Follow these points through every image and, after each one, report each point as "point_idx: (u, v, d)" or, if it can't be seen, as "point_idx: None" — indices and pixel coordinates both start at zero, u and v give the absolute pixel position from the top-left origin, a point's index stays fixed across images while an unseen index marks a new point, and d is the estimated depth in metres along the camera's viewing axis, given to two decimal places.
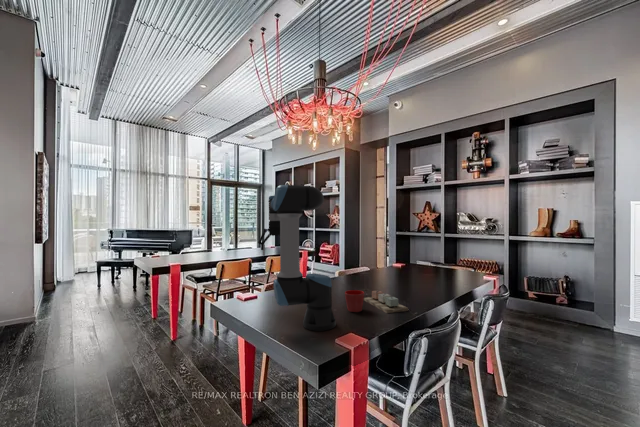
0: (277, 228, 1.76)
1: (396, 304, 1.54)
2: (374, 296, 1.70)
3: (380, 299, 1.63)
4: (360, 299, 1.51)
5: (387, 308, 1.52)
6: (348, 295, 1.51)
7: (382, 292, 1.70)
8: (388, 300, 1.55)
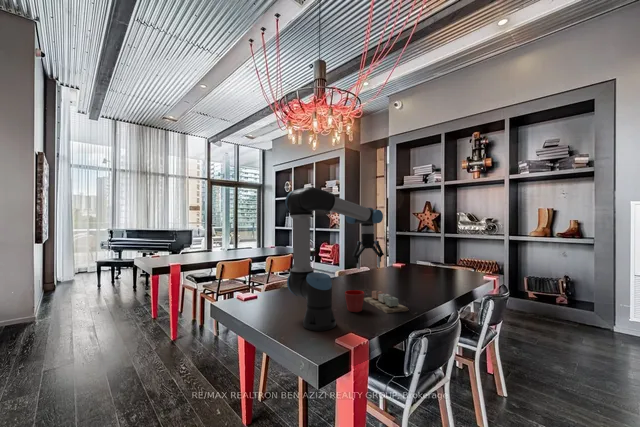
0: (370, 241, 1.72)
1: (396, 304, 1.54)
2: (374, 296, 1.70)
3: (380, 299, 1.63)
4: (360, 299, 1.51)
5: (387, 308, 1.52)
6: (348, 295, 1.51)
7: (382, 292, 1.70)
8: (388, 300, 1.55)
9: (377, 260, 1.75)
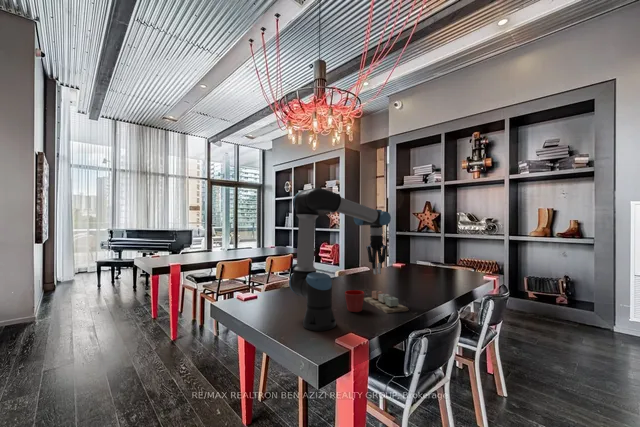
0: None
1: (396, 304, 1.54)
2: (374, 296, 1.70)
3: (380, 299, 1.63)
4: (360, 299, 1.51)
5: (387, 308, 1.52)
6: (348, 295, 1.51)
7: (382, 292, 1.70)
8: (388, 300, 1.55)
9: (378, 266, 1.73)
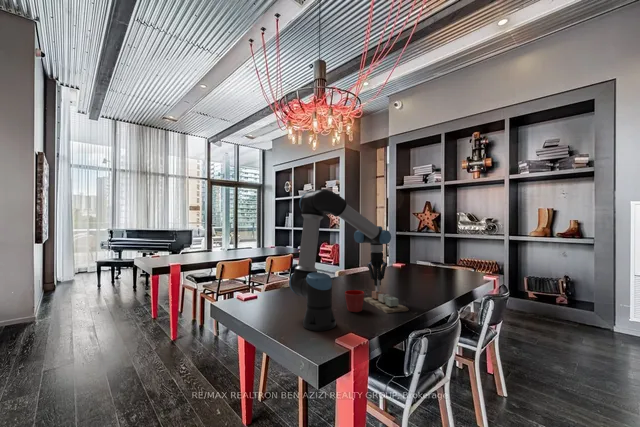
0: None
1: (396, 304, 1.54)
2: (374, 296, 1.70)
3: (380, 299, 1.63)
4: (360, 299, 1.51)
5: (387, 308, 1.52)
6: (348, 295, 1.51)
7: (382, 292, 1.70)
8: (388, 300, 1.55)
9: None
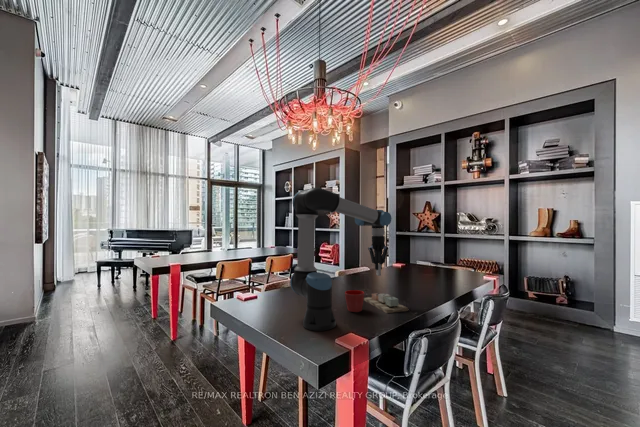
0: (382, 242, 1.70)
1: (396, 304, 1.54)
2: (374, 299, 1.70)
3: (380, 299, 1.63)
4: (360, 299, 1.51)
5: (387, 308, 1.52)
6: (348, 295, 1.51)
7: None
8: (388, 300, 1.55)
9: None
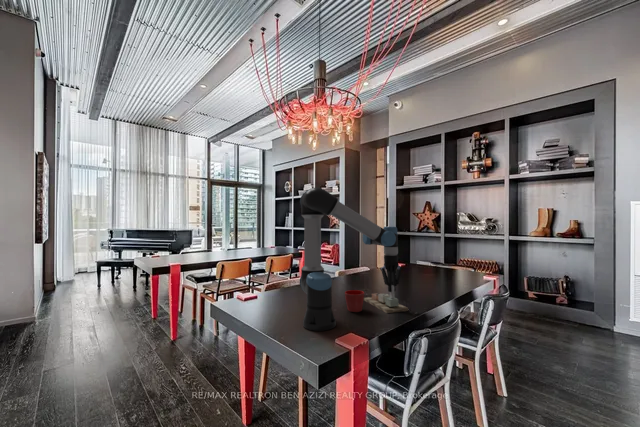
0: (396, 261, 1.57)
1: (396, 304, 1.54)
2: (374, 299, 1.70)
3: (380, 299, 1.63)
4: (360, 299, 1.51)
5: (387, 308, 1.52)
6: (348, 295, 1.51)
7: None
8: (388, 300, 1.55)
9: None
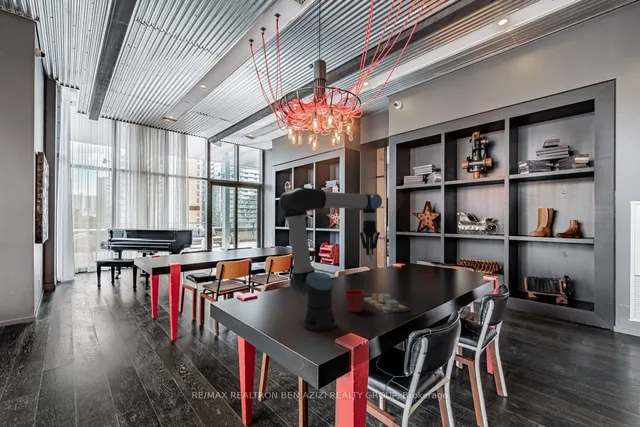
0: (374, 227, 1.67)
1: (396, 307, 1.54)
2: (374, 299, 1.70)
3: (380, 299, 1.63)
4: (360, 299, 1.51)
5: (387, 308, 1.52)
6: (348, 295, 1.51)
7: None
8: (388, 303, 1.55)
9: None
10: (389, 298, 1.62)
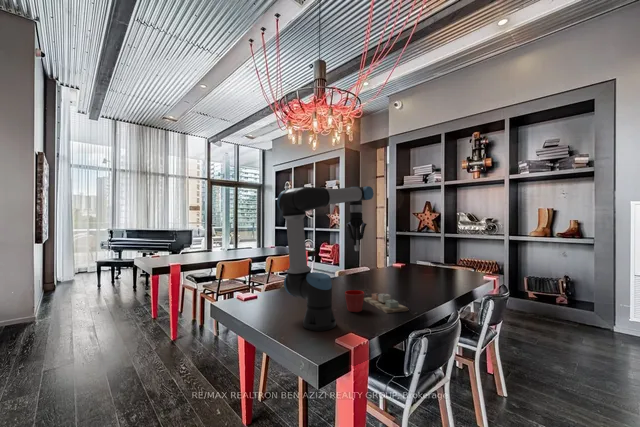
0: (360, 218, 1.74)
1: (396, 307, 1.54)
2: (374, 299, 1.70)
3: (380, 299, 1.63)
4: (360, 299, 1.51)
5: (387, 308, 1.52)
6: (348, 295, 1.51)
7: None
8: (388, 303, 1.55)
9: None
10: (389, 298, 1.62)
